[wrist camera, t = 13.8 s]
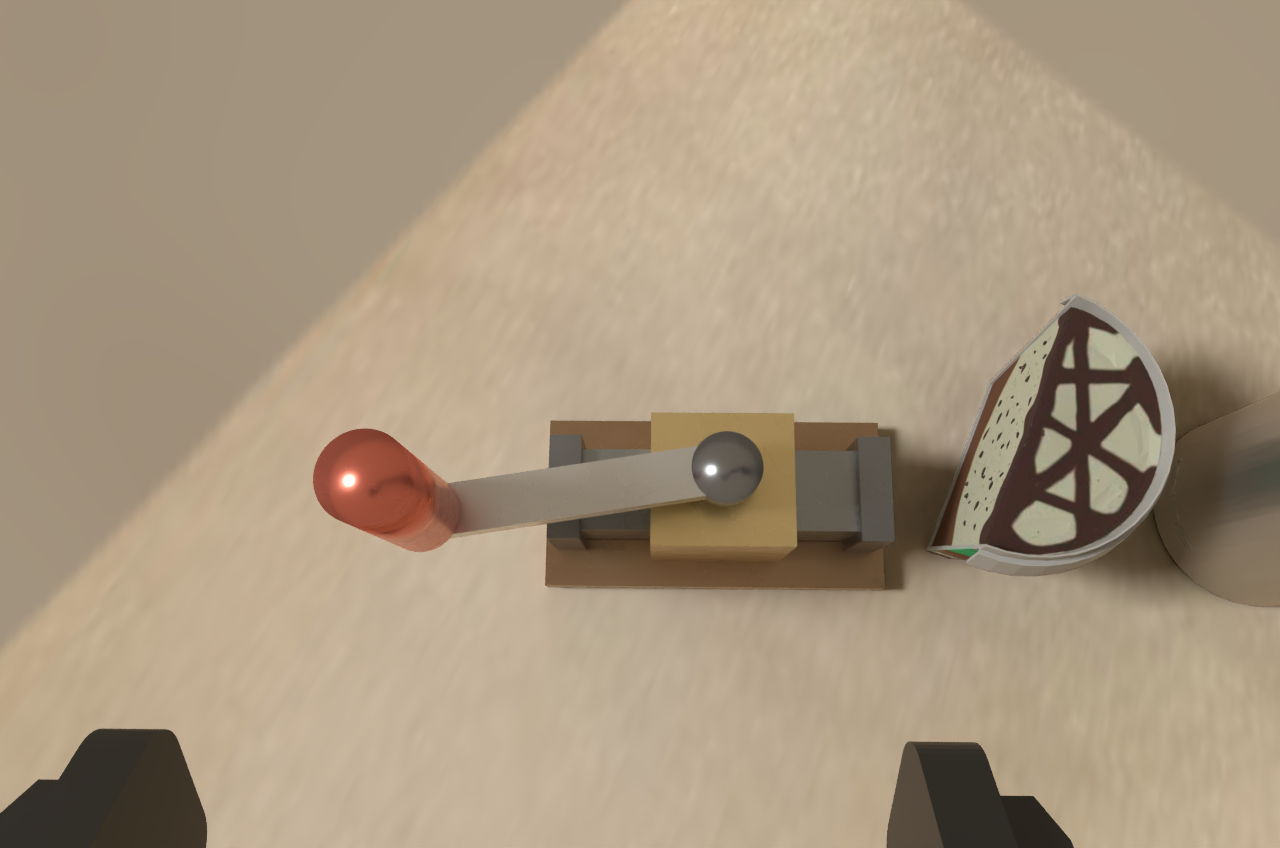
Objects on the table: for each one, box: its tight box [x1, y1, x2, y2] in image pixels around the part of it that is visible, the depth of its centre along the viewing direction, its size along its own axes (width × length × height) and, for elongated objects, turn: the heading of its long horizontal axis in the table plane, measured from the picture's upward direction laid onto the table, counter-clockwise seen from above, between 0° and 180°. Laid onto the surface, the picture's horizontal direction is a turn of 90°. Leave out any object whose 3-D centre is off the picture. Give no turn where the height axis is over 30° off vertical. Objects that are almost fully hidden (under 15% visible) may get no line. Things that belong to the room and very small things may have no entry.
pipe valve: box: [545, 413, 895, 590], centre depth 44 cm, size 16×8×9 cm, turn 89°
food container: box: [926, 294, 1176, 576], centre depth 44 cm, size 12×6×10 cm, turn 156°
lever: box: [313, 429, 764, 552], centre depth 35 cm, size 15×3×9 cm, turn 99°
